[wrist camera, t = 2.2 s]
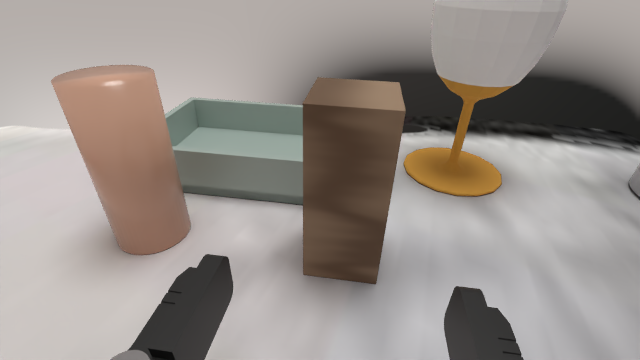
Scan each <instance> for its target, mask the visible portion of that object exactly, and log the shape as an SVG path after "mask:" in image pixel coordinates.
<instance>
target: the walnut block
mask: <svg viewBox="0 0 640 360" xmlns="http://www.w3.org/2000/svg"><path fill="white" fill-rule="evenodd" d="M404 117H405V106H404V102H403V98H402V93H401V88H400V84H399V83H397V82H381V81H365V80H350V79H334V78H319V77H318V78H317V80H316V82H315V83H314V85H313V87H312V88H311V90H310V92H309V93H308V95H307V97H306V99H305V101H304V102H303V275H310V276H317V277H325V278H333V279H340V280H348V281H356V282H363V283H371V284H376V281H377V275H378V270H379V264H380V258H381V252H382V246H383V240H384V234H385V228H386V223H387V217H388V211H389V205H390V199H391V193H392V187H393V182H394V176H395V170H396V164H397V158H398V152H399V146H400V141H401V135H402V129H403V123H404Z"/></svg>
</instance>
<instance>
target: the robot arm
mask: <svg viewBox="0 0 640 360" xmlns="http://www.w3.org/2000/svg"><path fill="white" fill-rule="evenodd" d="M629 185H630V187H631V188H632V190H633V191H634V192H635V193H636V194H637V195H638V196H639V197H640V164H639V166H638V167H637V169H636V171H635V172H634V174H633V175H632V177H631V179H630V180H629ZM232 293H233V281H232V275H231V270H230V264H229V259H228V257H226V256H218V255H210V254H207V255H205V256H204V257H203V259H202V260H201V262H200V263H199V265H198V267H197V268H192V267H189V268H188V269H187V270H185V271H184V272H183V273H182V274H181V275H179V276H178V277H177V278H176V280H175V281H174V283H173V284H172V286H171V287H170V289H169V290H168V293H166V295H165V296H164V298H163V299H162V302H161V304H159V305H158V307H157V308H156V310H155V312H154V313H153V315H152V316H151V318H150V319H149V321H148V322H147V324H146V325H145V327H144V328H143V330H142V331H141V333H140V334H139V336H138V337H137V339H136V340H135V342H134V343H133V345H132V346H131V347H130V348H129V350H128V351H125V352H122V353H120V354H118V355H116V356H115V357H113V358H112V359H111V360H204V359H205V357H206V355H207V352H208V350H209V348H210V346H211V343H212V341H213V339H214V337H215V334H216V332H217V330H218V328H219V325H220V323H221V321H222V319H223V317H224V314H225V312H226V310H227V308H228V305H229V303H230V301H231V298H232ZM444 331H445V337H446V342H447V347H448V352H449V357H450V360H524V359H523V357H521V352H520V349H519V346H518V344H517V343H516V339H515V336H514V333H513V331H512V328H511V326H510V323H509V322H508V321H507V319H506V318H505V317H504V316H503V315H502V313H501V312H500V311H499V310H498V308H492V307H487V304H486V301H485V298H484V295H483V293H482V291H481V290H480V289H475V288H467V287H459V286H456V287H455V288H454V291H453V293H452V296H451V299H450V302H449V305H448V307H447V310H446V313H445V318H444Z"/></svg>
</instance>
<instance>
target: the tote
mask: <svg viewBox="0 0 640 360" xmlns="http://www.w3.org/2000/svg"><path fill="white" fill-rule="evenodd" d="M165 119H166V123H167V127H168V131H169V135H170V139H171V143H172V148H173V152H174V156H175V160H176V164H177V168H178V172H179V176H180V181H181V185H182V189H183V192H187V193H196V194H206V195H215V196H225V197H234V198H244V199H253V200H262V201H272V202H281V203H291V204H300V205H303V105H288V104H275V103H260V102H247V101H233V100H219V99H205V98H190V99H188V100H187V101H185V102H183V103H182V104H180V105H179V106H178V107H176V108H174V109H173V110H171V111H170V112H168V113H167V114H165Z"/></svg>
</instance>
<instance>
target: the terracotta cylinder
mask: <svg viewBox="0 0 640 360" xmlns="http://www.w3.org/2000/svg"><path fill="white" fill-rule="evenodd" d="M51 83H52V85H53V87H54V90H55V92H56V95H57V97H58V99H59V101H60V104H61V107H62V109H63V112H64V114H65V116H66V119H67V121H68V124H69V126H70V129H71V131H72V133H73V136H74V138H75V141H76V143H77V146H78V148H79V150H80V153H81V155H82V158H83V160H84V163H85V165H86V167H87V170H88V172H89V175H90V177H91V179H92V182H93V184H94V187H95V189H96V192H97V194H98V196H99V199H100V201H101V204H102V206H103V209H104V211H105V213H106V216H107V218H108V221H109V223H110V226H111V228H112V230H113V233H114V235H115V238H116V240H117V242H118V245H119V247H120V248H121V249H122V250H123V251H125V252H127V253H130V254H135V255H147V254H153V253H157V252H161V251H164V250H166V249H168V248H171V247H172V246H174V245H176V244H177V243H179V242H180V241H181V240H182V239H183V238H184V237H185V236H186V235H187V234H188V232H189V230H190V227H191V222H190V218H189V214H188V210H187V205H186V201H185V197H184V193H183V189H182V185H181V181H180V176H179V172H178V168H177V164H176V160H175V156H174V152H173V148H172V143H171V139H170V135H169V131H168V127H167V123H166V119H165V115H164V110H163V106H162V102H161V98H160V94H159V90H158V86H157V82H156V78H155V73H154V70H153V69H151V68H148V67H144V66H137V65H109V66H98V67H91V68H84V69H79V70H74V71H70V72H66V73H63V74H61V75H58V76H56V77H54V78H53V79H52V80H51Z"/></svg>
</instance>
